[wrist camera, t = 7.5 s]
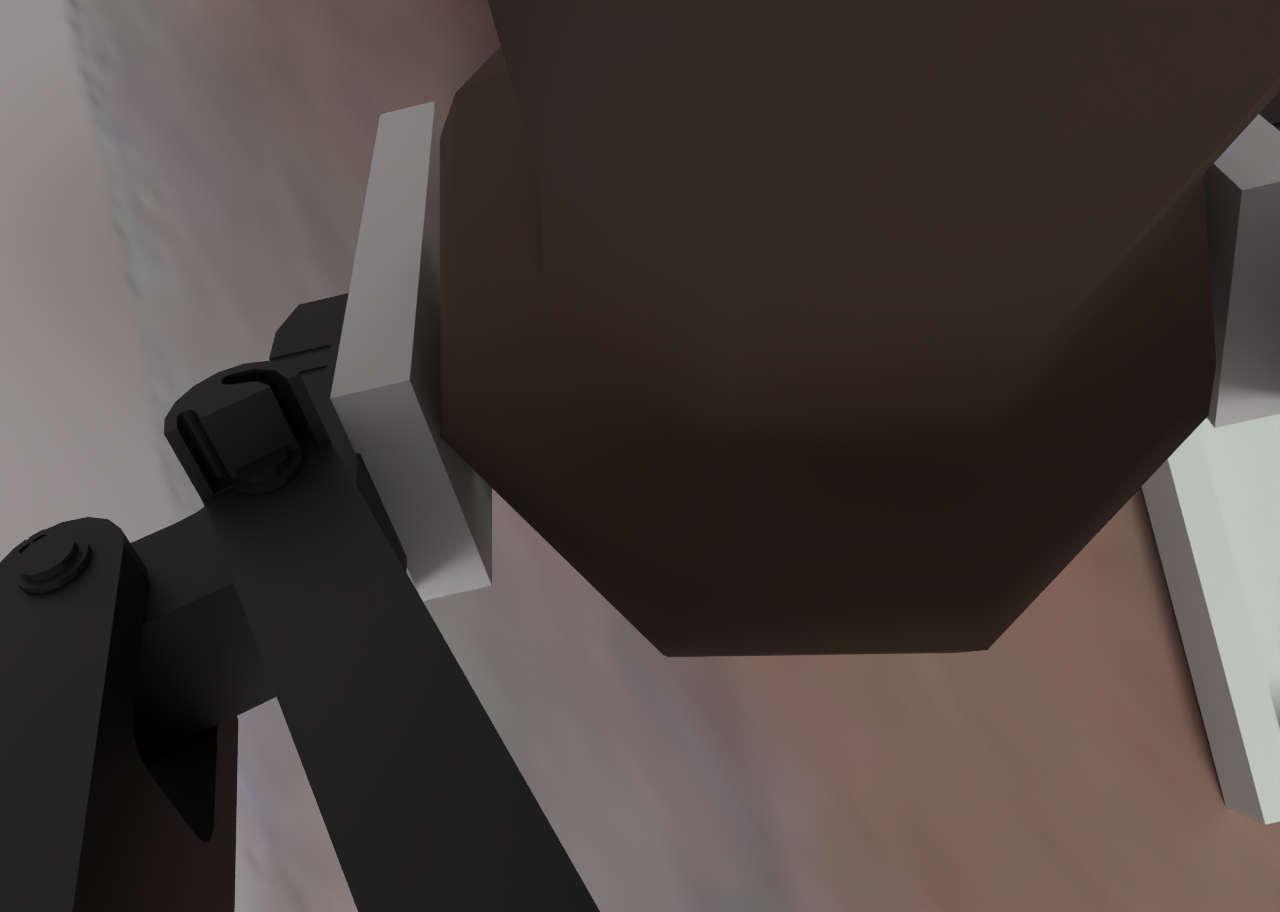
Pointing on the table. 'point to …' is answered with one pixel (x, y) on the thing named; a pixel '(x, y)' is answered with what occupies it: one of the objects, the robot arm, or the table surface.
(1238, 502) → the tray
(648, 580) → the beer bottle
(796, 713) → the table surface
